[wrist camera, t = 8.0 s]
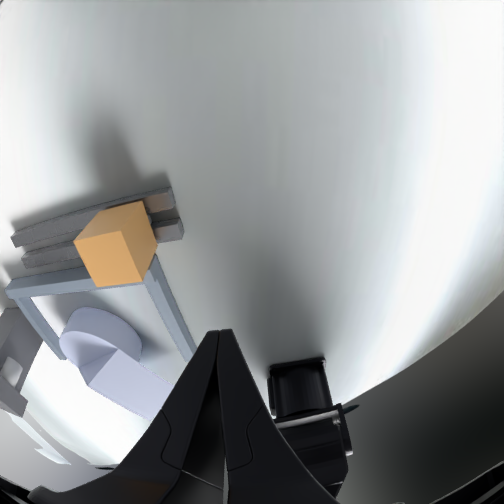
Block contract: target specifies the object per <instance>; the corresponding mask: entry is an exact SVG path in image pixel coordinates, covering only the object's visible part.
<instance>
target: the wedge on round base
mask: <svg viewBox="0 0 504 504" xmlns="http://www.w3.org/2000/svg"><path fill="white" fill-rule="evenodd" d="M59 345H60V348H61V350H62V352H63V353H64V355H65V356H66V357H67V359H68V360H69V361H70V362H71V363H73V364H74V365H75V366H76V367H78V368H79V370H80V372H81V374H82V376H83V378H84V380H85V382H86V384H87V386H88V387H90V388H91V389H93V390H95V391H96V392H98V393H99V394H101V395H103V396H104V397H106V398H108V399H110V400H111V401H113V402H115V403H117V404H118V405H120V406H122V407H124V408H126V409H127V410H129V411H131V412H133V413H135V414H137V415H139V416H141V417H143V418H145V419H147V420H149V421H151V420H152V419H153V418H154V417H155V416H156V415H157V414H158V412H159V410H160V409H161V407H162V406H163V404H164V402H165V401H166V399H167V397H168V396H169V394H170V392H171V391H172V389H173V388H174V385H173V384H171V383H169V382H168V381H166V380H164V379H163V378H161V377H160V376H158V375H156V374H155V373H153V372H152V371H150V370H149V369H147V368H146V367H144V366H143V365H141V364H140V363H138V362H139V358H140V354H141V351H142V342H141V339H140V337H139V336H138V334H137V333H136V331H135V330H134V329H133V328H132V327H131V326H130V325H129V324H128V323H126V322H125V321H124V320H122V319H121V318H119V317H117V316H116V315H114V314H112V313H109V312H107V311H104V310H101V309H97V308H92V307H84V308H79V309H77V310H75V311H74V312H73V313H72V314H71V316H70V318H69V320H68V322H67V324H66V326H65V328H64V330H63V332H62V334H61V336H60V339H59Z"/></svg>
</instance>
